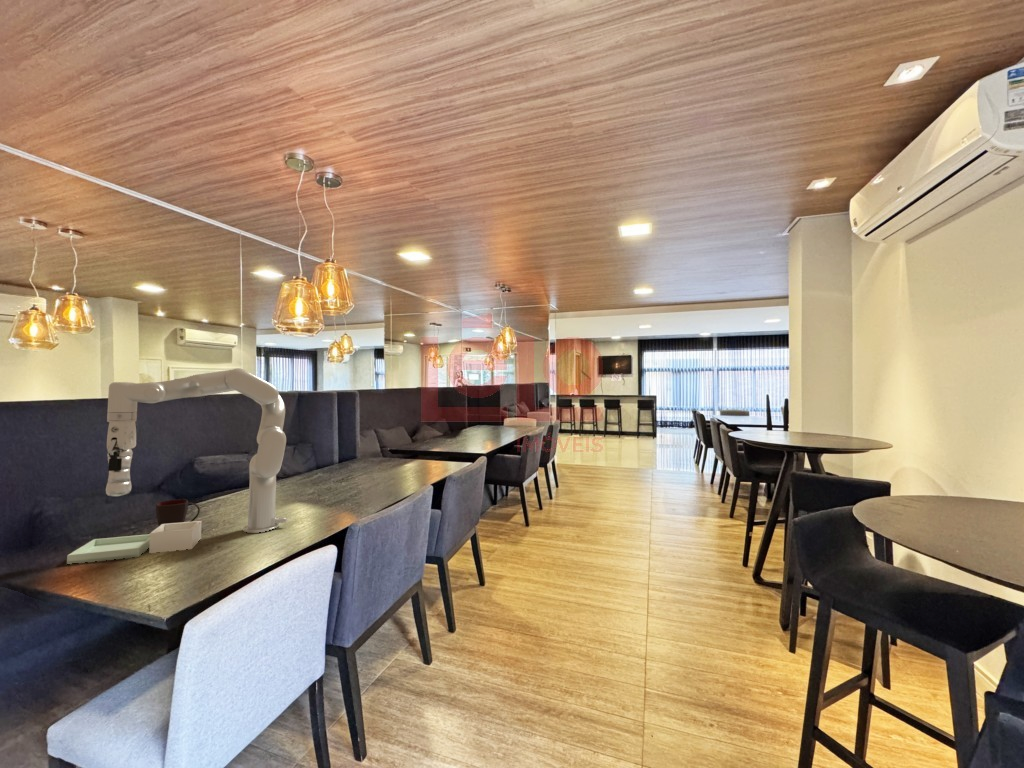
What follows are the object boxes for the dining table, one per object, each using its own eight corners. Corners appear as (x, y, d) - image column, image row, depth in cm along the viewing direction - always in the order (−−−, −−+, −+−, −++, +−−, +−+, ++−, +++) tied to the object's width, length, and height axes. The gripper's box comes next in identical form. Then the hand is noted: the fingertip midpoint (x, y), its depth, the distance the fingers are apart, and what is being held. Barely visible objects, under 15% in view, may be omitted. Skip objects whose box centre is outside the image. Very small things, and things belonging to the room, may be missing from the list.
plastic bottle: (136, 493, 146) (139, 437, 147) (116, 498, 139) (119, 439, 140) (120, 493, 147) (123, 437, 148) (99, 497, 140) (102, 439, 141)
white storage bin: (200, 539, 157) (201, 520, 157) (191, 549, 146) (192, 529, 147) (161, 543, 152) (162, 524, 152) (149, 553, 142) (150, 533, 142)
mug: (154, 531, 164) (156, 501, 164) (198, 525, 173) (199, 496, 173) (154, 538, 156) (155, 507, 157) (199, 531, 165) (201, 501, 166)
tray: (157, 541, 153) (157, 533, 153) (138, 557, 139) (139, 548, 139) (93, 547, 146) (93, 539, 146) (66, 564, 131) (67, 555, 132)
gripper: (124, 418, 138) (121, 472, 137) (146, 416, 153) (143, 464, 153) (95, 418, 135) (92, 473, 134) (120, 416, 150) (117, 465, 150)
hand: (119, 468), depth 143 cm, fingers closed on plastic bottle, 6 cm apart
